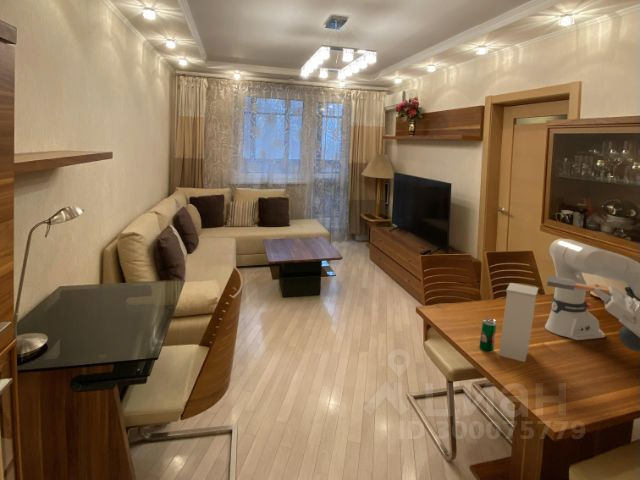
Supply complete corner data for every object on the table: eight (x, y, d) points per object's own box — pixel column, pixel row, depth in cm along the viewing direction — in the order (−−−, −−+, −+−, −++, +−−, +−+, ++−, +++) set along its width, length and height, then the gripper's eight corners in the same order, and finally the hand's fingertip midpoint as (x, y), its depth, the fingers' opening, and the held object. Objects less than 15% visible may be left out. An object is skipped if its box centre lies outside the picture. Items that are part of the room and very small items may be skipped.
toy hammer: (608, 289, 143) (609, 285, 142) (609, 296, 136) (610, 292, 136) (548, 279, 152) (549, 275, 152) (547, 285, 145) (547, 281, 145)
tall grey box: (528, 352, 161) (538, 287, 155) (525, 362, 153) (535, 295, 147) (501, 345, 166) (510, 282, 160) (497, 355, 158) (506, 289, 152)
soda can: (476, 346, 164) (480, 317, 162) (489, 346, 165) (493, 317, 162) (482, 352, 159) (486, 323, 157) (495, 352, 160) (499, 323, 157)
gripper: (629, 333, 130) (587, 303, 134) (624, 311, 147) (587, 286, 151) (645, 318, 127) (602, 289, 131) (638, 299, 144) (600, 273, 148)
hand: (594, 287), depth 141 cm, fingers closed on toy hammer, 3 cm apart
